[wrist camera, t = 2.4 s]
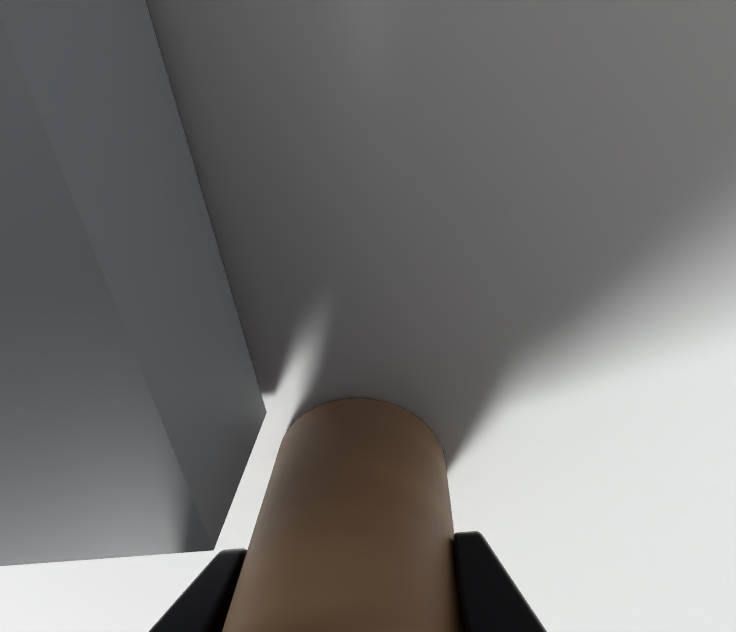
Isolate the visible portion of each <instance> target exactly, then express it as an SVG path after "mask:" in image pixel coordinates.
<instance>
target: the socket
mask: <svg viewBox="0 0 736 632" xmlns="http://www.w3.org/2000/svg"><path fill="white" fill-rule="evenodd" d="M266 413H267V412H266V409H265V405H264V402H263V399H262V395H261V392H260V388H259V385H258V381H257V378H256V375H255V371H254V368H253V364H252V361H251V358H250V354H249V351H248V347H247V344H246V341H245V337H244V334H243V330H242V327H241V323H240V320H239V317H238V313H237V310H236V306H235V303H234V300H233V296H232V293H231V289H230V286H229V283H228V279H227V276H226V272H225V269H224V265H223V262H222V259H221V255H220V252H219V248H218V245H217V242H216V238H215V235H214V231H213V228H212V225H211V221H210V218H209V214H208V211H207V207H206V204H205V201H204V197H203V194H202V190H201V187H200V184H199V180H198V177H197V173H196V170H195V167H194V163H193V160H192V156H191V153H190V149H189V146H188V143H187V139H186V136H185V132H184V129H183V126H182V122H181V119H180V115H179V112H178V109H177V105H176V102H175V98H174V95H173V91H172V88H171V85H170V81H169V78H168V74H167V71H166V68H165V64H164V61H163V57H162V54H161V51H160V47H159V44H158V40H157V37H156V33H155V30H154V27H153V23H152V20H151V16H150V13H149V10H148V6H147V3H146V0H0V566H7V565H20V564H34V563H48V562H61V561H75V560H88V559H102V558H115V557H129V556H143V555H156V554H170V553H183V552H197V551H211V550H214V548H215V545H216V542H217V540H218V537H219V535H220V532H221V529H222V527H223V524H224V522H225V519H226V516H227V514H228V511H229V509H230V506H231V503H232V501H233V498H234V496H235V493H236V491H237V488H238V485H239V483H240V480H241V478H242V475H243V472H244V470H245V467H246V465H247V462H248V459H249V457H250V454H251V452H252V449H253V446H254V444H255V441H256V439H257V436H258V433H259V431H260V428H261V426H262V423H263V420H264V418H265V415H266Z"/></svg>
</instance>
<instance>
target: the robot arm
mask: <svg viewBox="0 0 736 632" xmlns="http://www.w3.org/2000/svg"><path fill="white" fill-rule="evenodd" d="M453 544H454V553H455V561H456V570H457V579H458V587H459V596H460V604H461V612H462V619H463V626H464V632H547V631H546V630H545V628H544V627H543V625H542V624H541V622H540V621H539V619H538V618H537V616H536V615H535V613H534V612H533V610H532V609H531V607H530V606H529V604H528V603H527V601H526V600H525V598H524V597H523V595H522V594H521V592H520V591H519V589H518V588H517V586H516V585H515V583H514V582H513V580H512V579H511V577H510V576H509V574H508V573H507V571H506V570H505V568H504V567H503V565H502V564H501V562H500V561H499V559H498V558H497V556H496V555H495V553H494V552H493V550H492V549H491V547H490V546H489V544H488V543H487V541H486V540H485V538H484V537H483V535H482V534H481V533H480V532H478V531H471V532H458V533H455V534H454V535H453ZM246 554H247V550H246V549H243V548H242V549H229V550H223V551H221V552H220V553H218V554H217V555H216V556H215V557H214V559H213V560H212V561H211V562H210V563H209V564H208V565H207V566H206V568H205V569H204V570H203V571H202V572H201V573H200V574H199V575H198V577H197V578H196V579H195V580H194V581H193V582H192V583H191V585H190V586H189V587H188V588H187V589H186V590H185V591H184V592H183V594H182V595H181V596H180V597H179V598H178V599H177V600H176V601H175V603H174V604H173V605H172V606H171V607H170V608H169V609H168V610H167V612H166V613H165V614H164V615H163V616H162V617H161V618H160V619H159V621H158V622H157V623H156V624H155V625H154V626H153V627H152V629H151V630H150V631H149V632H222V630H223V627H224V624H225V621H226V617H227V614H228V611H229V608H230V605H231V601H232V598H233V595H234V592H235V589H236V585H237V582H238V579H239V576H240V573H241V570H242V566H243V563H244V560H245V557H246Z"/></svg>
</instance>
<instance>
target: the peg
mask: <svg viewBox="0 0 736 632" xmlns="http://www.w3.org/2000/svg"><path fill="white" fill-rule="evenodd" d="M453 535H454V528H453V520H452V512H451V504H450V496H449V488H448V480H447V472H446V464H445V458H444V453H443V450H442V447H441V445H440V443H439V441H438V439H437V437H436V436H435V434H434V433H433V432H432V430H431V429H430V428H429V427H428V426H427V425H426V424H425V423H424V422H423V421H422V420H421V419H419V418H418V417H416V416H415V415H414V414H412V413H410V412H409V411H407V410H405V409H403V408H401V407H399V406H396V405H394V404H391V403H387V402H384V401H379V400H374V399H364V398H351V399H342V400H336V401H332V402H328V403H325V404H322V405H320V406H318V407H315V408H313V409H312V410H310V411H308V412H306V413H305V414H304V415H302V416H301V417H300V418H298V419H297V420H296V421H295V422H294V423H293V424H292V425H291V427H290V428H289V429H288V431H287V432H286V434H285V436H284V438H283V440H282V442H281V445H280V448H279V451H278V455H277V458H276V461H275V464H274V467H273V471H272V474H271V477H270V480H269V483H268V487H267V490H266V493H265V496H264V499H263V503H262V506H261V509H260V512H259V515H258V518H257V522H256V525H255V528H254V531H253V534H252V538H251V541H250V544H249V547H248V550H247V554H246V557H245V560H244V563H243V566H242V570H241V573H240V576H239V579H238V582H237V585H236V589H235V592H234V595H233V598H232V601H231V605H230V608H229V611H228V614H227V617H226V621H225V624H224V627H223V630H222V632H464V626H463V619H462V612H461V604H460V596H459V587H458V579H457V570H456V561H455V553H454V544H453Z"/></svg>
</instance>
